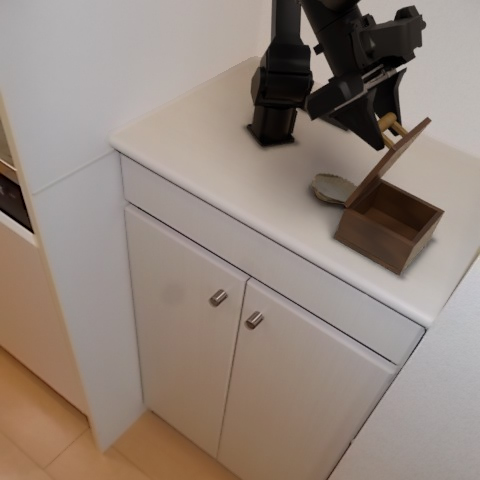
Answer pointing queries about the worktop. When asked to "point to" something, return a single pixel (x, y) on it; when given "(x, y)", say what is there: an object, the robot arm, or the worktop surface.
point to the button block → (331, 120)
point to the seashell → (332, 188)
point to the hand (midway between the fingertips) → (390, 142)
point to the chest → (388, 225)
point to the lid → (391, 155)
